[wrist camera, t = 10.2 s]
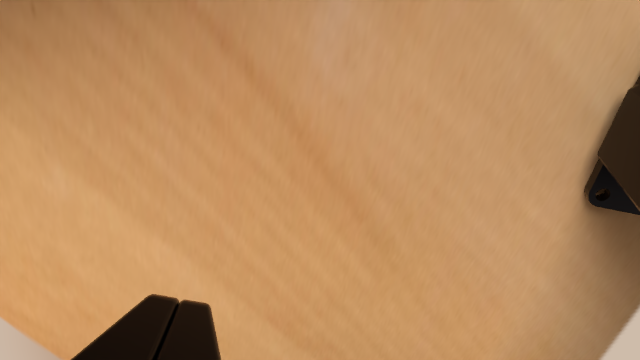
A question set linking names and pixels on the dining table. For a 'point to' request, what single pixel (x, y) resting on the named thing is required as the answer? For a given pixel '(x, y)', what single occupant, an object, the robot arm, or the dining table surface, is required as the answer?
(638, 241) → the dining table surface
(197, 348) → the robot arm
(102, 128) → the dining table surface
